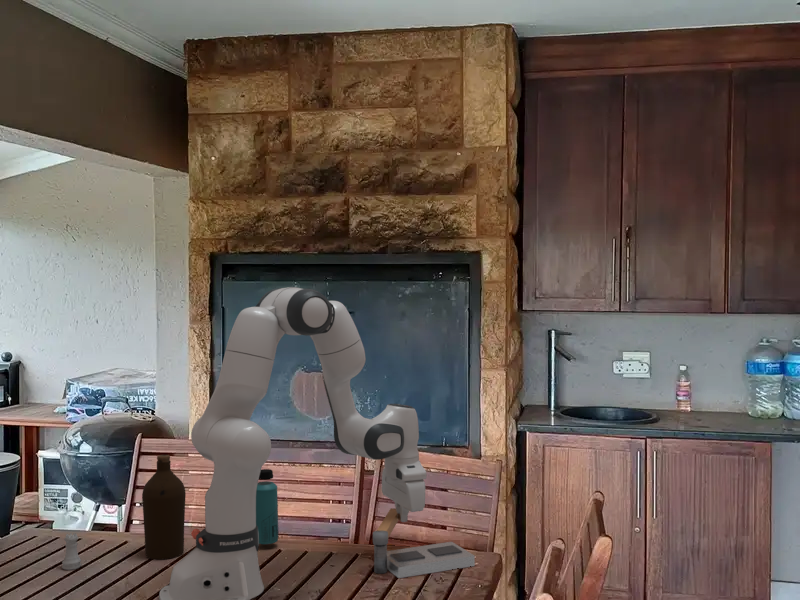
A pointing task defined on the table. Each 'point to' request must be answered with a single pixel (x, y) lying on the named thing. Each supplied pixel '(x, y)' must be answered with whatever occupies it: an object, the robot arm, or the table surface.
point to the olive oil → (164, 512)
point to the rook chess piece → (71, 553)
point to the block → (421, 559)
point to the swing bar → (385, 528)
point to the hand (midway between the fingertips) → (402, 520)
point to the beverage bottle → (267, 508)
